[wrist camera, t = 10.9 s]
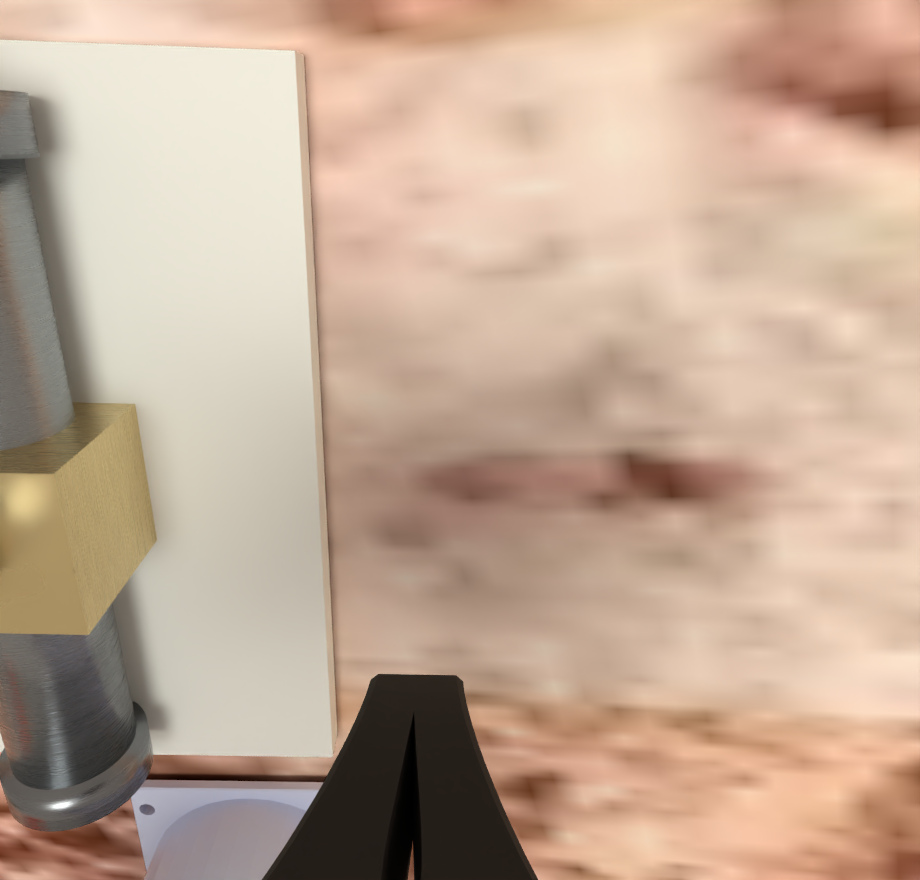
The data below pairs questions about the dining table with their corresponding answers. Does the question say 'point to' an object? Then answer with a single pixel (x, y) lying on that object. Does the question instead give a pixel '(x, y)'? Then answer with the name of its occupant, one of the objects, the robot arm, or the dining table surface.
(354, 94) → the dining table surface
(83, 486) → the pipe and valve
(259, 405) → the valve board
